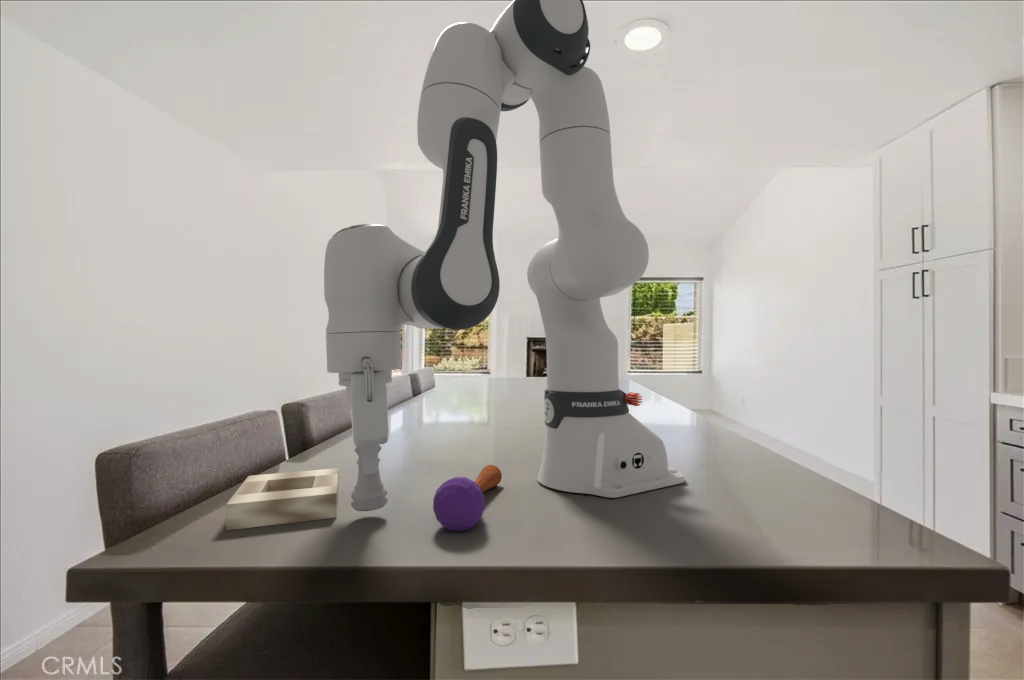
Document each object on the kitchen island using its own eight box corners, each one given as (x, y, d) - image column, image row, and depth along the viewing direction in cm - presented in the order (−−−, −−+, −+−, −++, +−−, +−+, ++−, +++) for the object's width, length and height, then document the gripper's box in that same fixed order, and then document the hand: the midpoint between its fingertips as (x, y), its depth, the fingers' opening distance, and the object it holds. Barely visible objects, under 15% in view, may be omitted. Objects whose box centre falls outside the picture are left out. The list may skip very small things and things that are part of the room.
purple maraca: (513, 460, 72) (482, 489, 52) (506, 500, 71) (471, 544, 52) (476, 452, 73) (431, 477, 53) (468, 490, 72) (420, 530, 53)
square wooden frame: (338, 488, 71) (338, 468, 71) (336, 517, 59) (336, 493, 59) (248, 496, 67) (248, 475, 67) (226, 530, 55) (226, 504, 55)
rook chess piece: (376, 513, 56) (374, 445, 56) (343, 511, 57) (341, 444, 57) (395, 500, 60) (393, 437, 60) (363, 498, 61) (361, 437, 61)
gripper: (399, 357, 50) (404, 488, 50) (384, 354, 69) (388, 448, 69) (335, 360, 48) (341, 497, 48) (338, 356, 67) (342, 453, 67)
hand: (369, 468), depth 59 cm, fingers open, 3 cm apart
